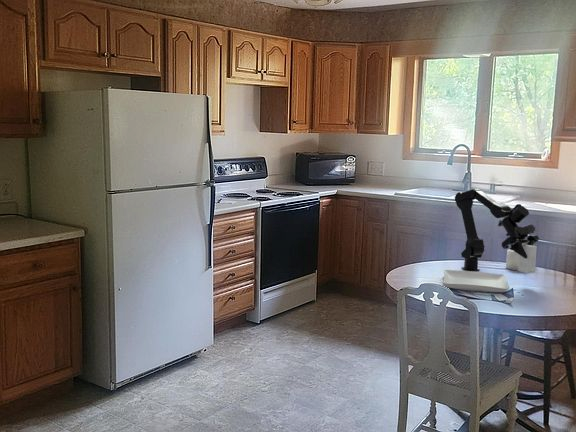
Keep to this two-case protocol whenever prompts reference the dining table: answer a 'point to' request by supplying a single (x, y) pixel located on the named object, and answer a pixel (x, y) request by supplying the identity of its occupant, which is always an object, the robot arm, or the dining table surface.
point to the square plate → (475, 281)
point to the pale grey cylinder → (512, 260)
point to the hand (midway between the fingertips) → (530, 257)
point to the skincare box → (528, 259)
